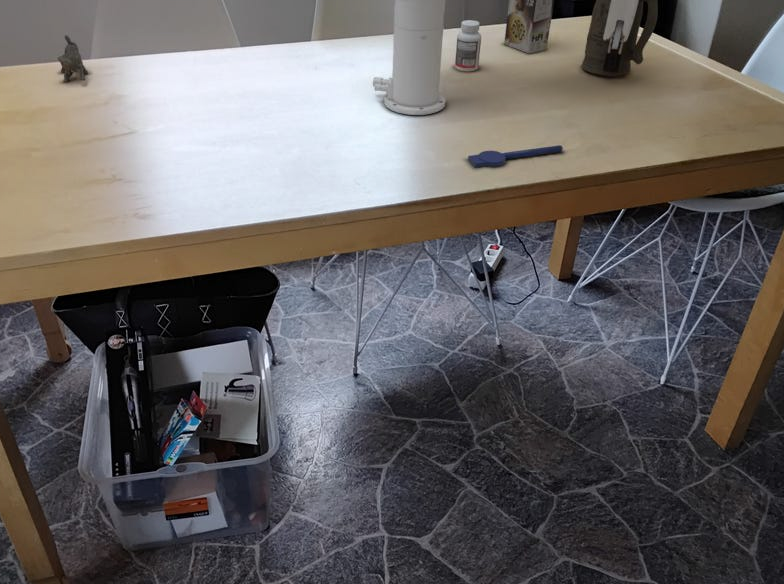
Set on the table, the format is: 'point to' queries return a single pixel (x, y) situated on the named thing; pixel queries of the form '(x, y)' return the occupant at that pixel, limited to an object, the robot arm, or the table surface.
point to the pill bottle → (468, 46)
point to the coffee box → (528, 24)
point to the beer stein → (630, 49)
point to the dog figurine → (71, 61)
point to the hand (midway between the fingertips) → (610, 70)
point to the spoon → (508, 156)
